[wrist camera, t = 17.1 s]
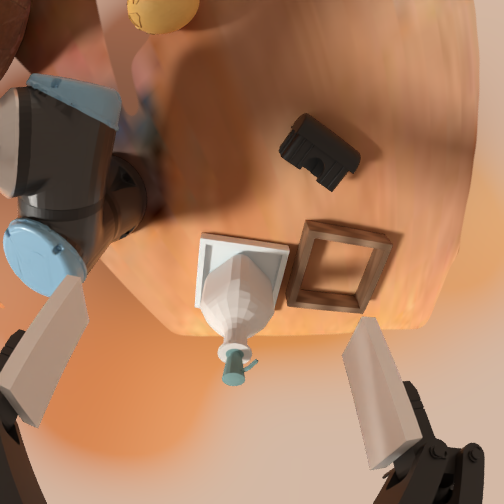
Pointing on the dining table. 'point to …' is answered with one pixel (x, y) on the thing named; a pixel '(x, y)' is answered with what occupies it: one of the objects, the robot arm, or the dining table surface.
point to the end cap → (319, 151)
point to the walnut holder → (329, 299)
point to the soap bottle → (237, 311)
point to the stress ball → (161, 14)
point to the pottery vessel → (12, 29)
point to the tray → (261, 253)
